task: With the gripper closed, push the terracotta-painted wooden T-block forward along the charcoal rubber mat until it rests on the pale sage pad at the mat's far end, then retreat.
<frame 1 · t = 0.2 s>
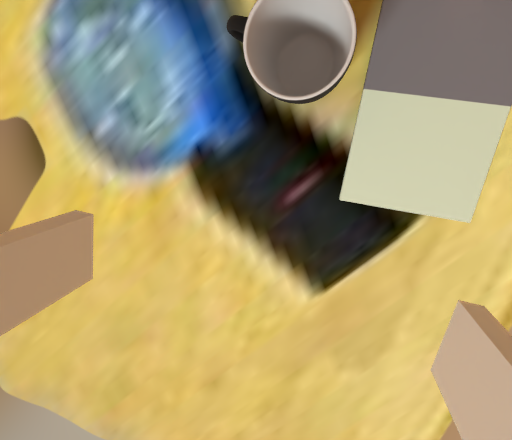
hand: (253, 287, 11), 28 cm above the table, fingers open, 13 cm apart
mug: (292, 61, 35), on the table
mat: (444, 55, 32), on the table
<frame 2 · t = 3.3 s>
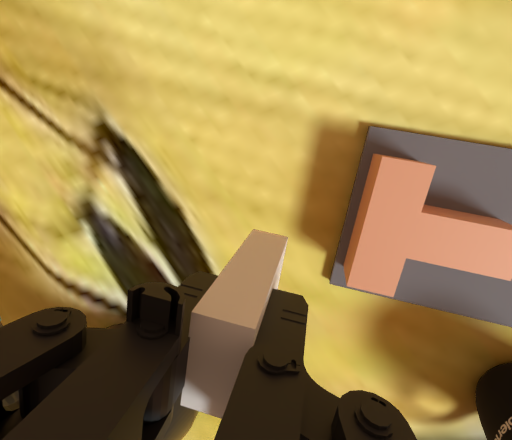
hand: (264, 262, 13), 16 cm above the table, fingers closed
t block: (422, 225, 26), point 1 cm above the table, touching mat
mug: (502, 400, 30), on the table
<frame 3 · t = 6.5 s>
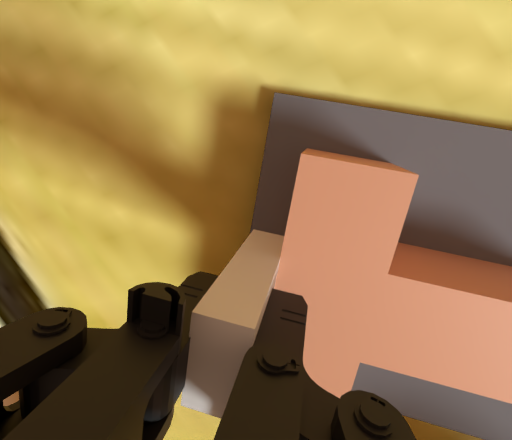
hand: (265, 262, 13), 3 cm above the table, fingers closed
t block: (399, 280, 14), point 1 cm above the table, touching gripper, mat
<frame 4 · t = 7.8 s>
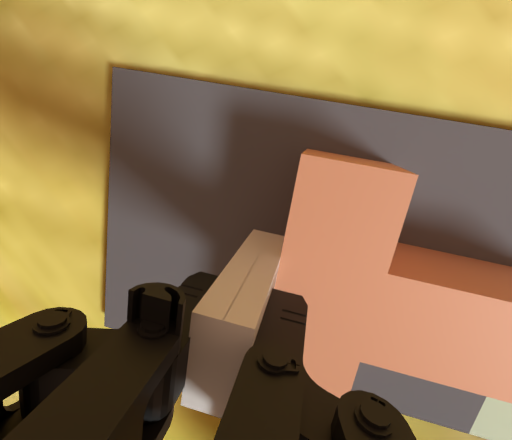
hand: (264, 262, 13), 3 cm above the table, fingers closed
t block: (399, 280, 14), point 1 cm above the table, touching gripper
mat: (424, 280, 15), on the table
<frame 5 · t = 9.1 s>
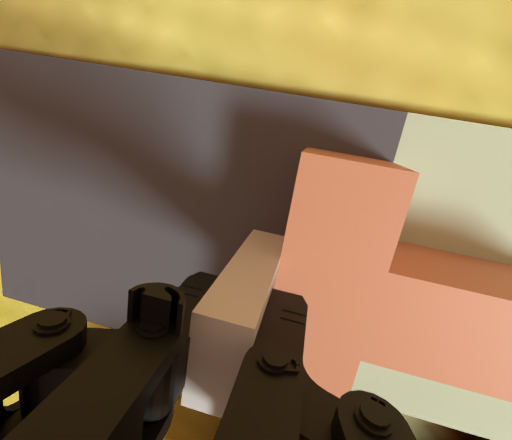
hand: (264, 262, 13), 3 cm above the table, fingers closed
t block: (400, 279, 14), point 1 cm above the table, touching gripper
mat: (278, 245, 16), on the table
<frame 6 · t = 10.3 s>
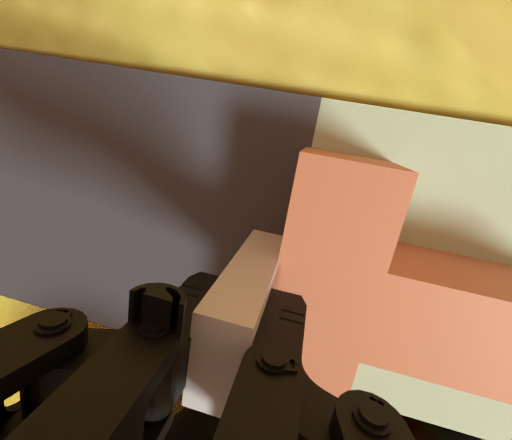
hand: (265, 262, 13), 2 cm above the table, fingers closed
t block: (400, 280, 14), point 1 cm above the table, touching gripper, mat
mat: (214, 230, 16), on the table
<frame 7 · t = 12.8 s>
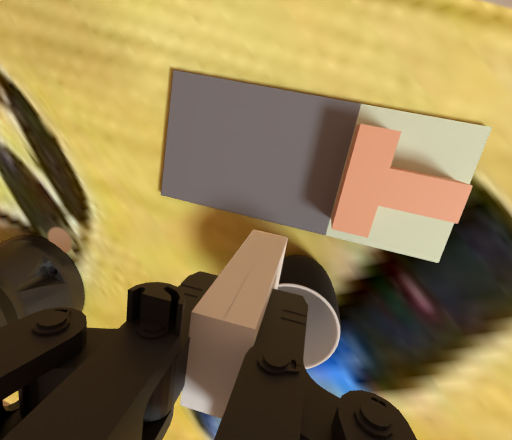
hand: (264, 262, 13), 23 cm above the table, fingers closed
t block: (394, 184, 32), point 1 cm above the table, touching mat
mug: (293, 288, 39), on the table
mat: (305, 164, 34), on the table
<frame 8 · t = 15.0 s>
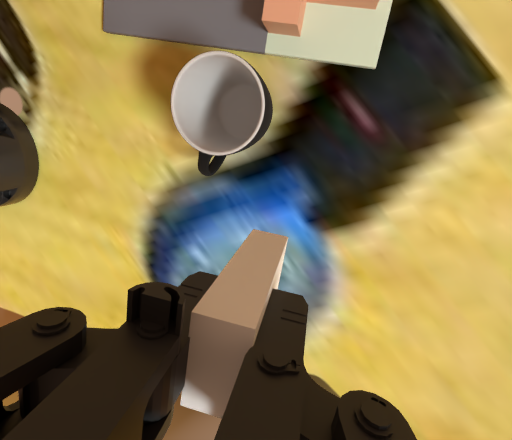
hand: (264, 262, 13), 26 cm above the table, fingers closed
mug: (239, 124, 39), on the table
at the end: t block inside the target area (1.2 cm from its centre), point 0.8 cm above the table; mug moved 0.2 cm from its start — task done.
